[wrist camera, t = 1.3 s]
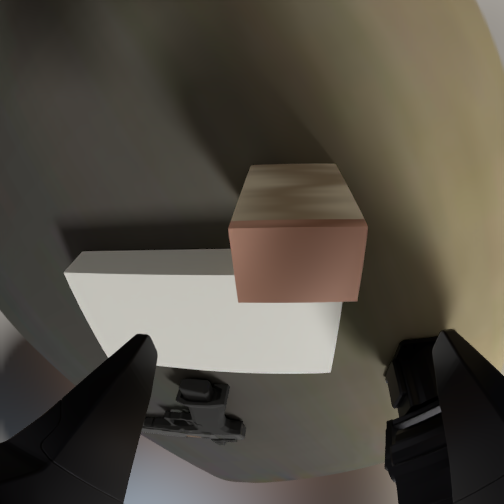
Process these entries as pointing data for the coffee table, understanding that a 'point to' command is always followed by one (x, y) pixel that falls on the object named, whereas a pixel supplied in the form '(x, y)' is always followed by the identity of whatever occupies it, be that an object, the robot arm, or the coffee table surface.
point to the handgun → (199, 414)
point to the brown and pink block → (297, 236)
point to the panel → (199, 313)
